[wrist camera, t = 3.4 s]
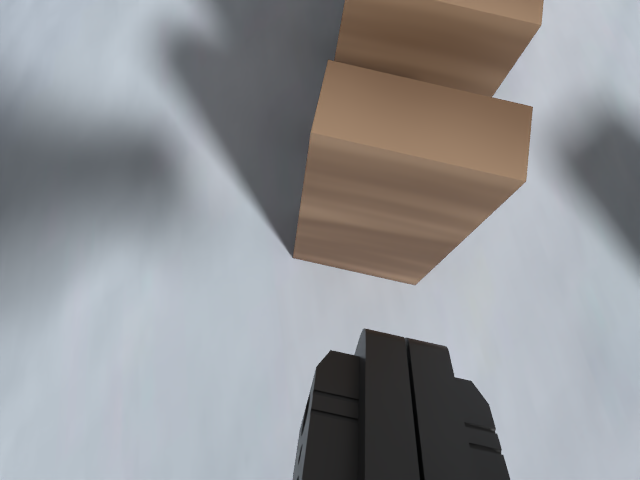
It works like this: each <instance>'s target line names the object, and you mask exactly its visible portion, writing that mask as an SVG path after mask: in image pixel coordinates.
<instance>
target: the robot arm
mask: <svg viewBox="0 0 640 480" xmlns="http://www.w3.org/2000/svg"><path fill="white" fill-rule="evenodd" d="M495 430H496V428H495V425H494V421H493V418H492V414H491V411H490V407H489V404H488V403H487V401H486V400H485V399H484V397H483V396H482V395H481V393H480V392H479V391H478V389H477V388H476V387H475V385H474V384H473V383H472V381H469V380H464V379H460V378H455V377H454V373H453V369H452V364H451V359H450V355H449V351H448V348H447V347H446V346H442V345H437V344H433V343H428V342H424V341H419V340H415V339H410V338H405V339H404V337H400V336H396V335H391V334H387V333H382V332H378V331H373V330H369V329H363V331H362V333H361V335H360V338H359V341H358V345H357V348H356V352H355V355H350V354H345V353H341V352H336V351H332V350H330V352H329V353H328V354H327V355H326V356H325V358H324V359H323V360H322V361H321V362H320V363H319V365H318V366H317V367H316V371H315V375H314V378H313V382H312V386H311V390H310V394H309V397H308V401H307V405H306V409H305V413H304V417H303V420H302V424H301V428H300V433H299V440H298V446H297V453H296V460H295V466H294V473H293V480H510V477H509V474H508V470H507V467H506V463H505V460H504V456H503V455H501V450H502V449H501V446H500V442H499V439H498V435H497V434H495Z"/></svg>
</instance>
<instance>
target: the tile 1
mask: <svg viewBox="0 0 640 480" xmlns="http://www.w3.org/2000/svg"><path fill="white" fill-rule="evenodd" d="M532 110H533V107H531V106H527V105H523V104H518V103H514V102H510V101H505V100H501V99H497V98H492V97H488V96H484V95H479V94H475V93H471V92H466V91H462V90H458V89H453V88H449V87H445V86H440V85H436V84H431V83H427V82H423V81H418V80H414V79H410V78H405V77H401V76H397V75H392V74H388V73H384V72H379V71H375V70H371V69H366V68H362V67H358V66H353V65H349V64H345V63H340V62H336V61H331V60H328V63H327V67H326V71H325V75H324V79H323V83H322V87H321V92H320V96H319V100H318V104H317V108H316V112H315V117H314V121H313V125H312V129H311V134H310V141H309V148H308V155H307V162H306V169H305V176H304V183H303V190H302V197H301V204H300V211H299V218H298V225H297V232H296V239H295V246H294V253H293V258H296V259H300V260H305V261H309V262H313V263H318V264H322V265H327V266H331V267H336V268H340V269H345V270H349V271H354V272H358V273H363V274H367V275H372V276H376V277H381V278H385V279H390V280H394V281H399V282H403V283H408V284H412V285H416V284H417V283H418V282H419V281H420V280H421V279H422V278H424V277H425V276H426V275H427V274H428V273H429V272H430V271H431V270H432V269H433V268H434V267H435V266H436V265H437V264H438V263H440V262H441V261H442V260H443V259H444V258H445V257H446V256H447V255H448V254H449V253H450V252H451V251H452V250H453V249H454V248H456V247H457V246H458V245H459V244H460V243H461V242H462V241H463V240H464V239H465V238H466V237H467V236H468V235H469V234H471V233H472V232H473V231H474V230H475V229H476V228H477V227H478V226H479V225H480V224H481V223H482V222H483V221H484V220H485V219H487V218H488V217H489V216H490V215H491V214H492V213H493V212H494V211H495V210H496V209H497V208H498V207H499V206H500V205H501V204H503V203H504V202H505V201H506V200H507V199H508V198H509V197H510V196H511V195H512V194H513V193H514V192H515V191H516V190H517V189H519V188H520V187H521V186H522V185H523V184H524V183H525V182H526V177H527V166H528V155H529V143H530V132H531V121H532Z"/></svg>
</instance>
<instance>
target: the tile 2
mask: <svg viewBox="0 0 640 480" xmlns="http://www.w3.org/2000/svg"><path fill="white" fill-rule="evenodd" d="M543 1H544V0H345V3H344V9H343V14H342V20H341V25H340V31H339V37H338V42H337V48H336V53H335V59H334V61H336V62H340V63H345V64H349V65H353V66H358V67H362V68H366V69H371V70H375V71H379V72H384V73H388V74H392V75H397V76H401V77H405V78H410V79H414V80H418V81H423V82H427V83H431V84H436V85H440V86H445V87H449V88H453V89H458V90H462V91H466V92H471V93H475V94H479V95H484V96H488V97H492V96H493V95H494V93H495V92H496V90H497V89H498V88H499V86H500V85H501V83H502V82H503V80H504V79H505V77H506V76H507V74H508V73H509V71H510V70H511V69H512V67H513V66H514V64H515V63H516V61H517V60H518V58H519V57H520V55H521V54H522V53H523V51H524V50H525V48H526V47H527V45H528V44H529V42H530V41H531V39H532V38H533V36H534V35H535V34H536V32H537V31H538V29H539V28H540V26H541V23H542V12H543Z"/></svg>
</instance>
